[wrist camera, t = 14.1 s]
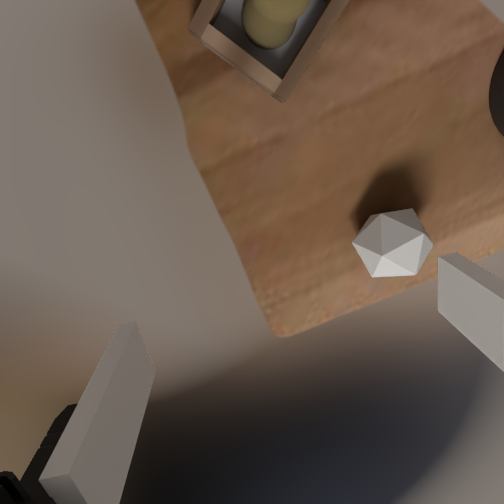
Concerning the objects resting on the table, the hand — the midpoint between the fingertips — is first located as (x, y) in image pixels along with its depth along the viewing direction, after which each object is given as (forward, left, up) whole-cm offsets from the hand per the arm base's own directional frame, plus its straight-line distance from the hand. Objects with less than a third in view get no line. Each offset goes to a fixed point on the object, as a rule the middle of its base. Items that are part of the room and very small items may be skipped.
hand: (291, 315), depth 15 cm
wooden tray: (+8, -16, -31) cm, 35 cm away
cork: (+8, -16, -30) cm, 35 cm away
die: (-19, -4, -31) cm, 37 cm away
